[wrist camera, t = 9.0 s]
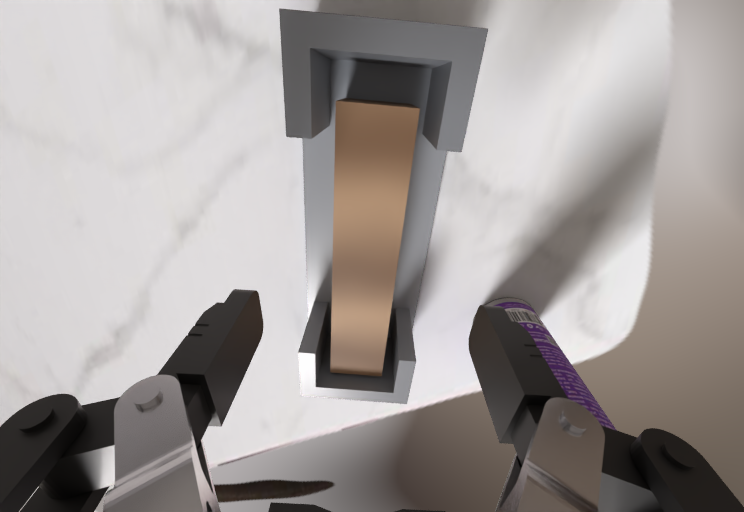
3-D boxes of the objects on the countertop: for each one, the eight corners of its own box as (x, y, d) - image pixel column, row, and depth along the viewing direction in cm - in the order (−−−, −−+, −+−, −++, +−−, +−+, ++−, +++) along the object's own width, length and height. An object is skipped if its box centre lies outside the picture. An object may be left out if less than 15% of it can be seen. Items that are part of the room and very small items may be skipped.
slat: (345, 97, 16) (335, 100, 12) (411, 103, 16) (419, 108, 12) (337, 329, 23) (330, 372, 20) (381, 333, 23) (381, 376, 20)
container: (460, 320, 23) (559, 616, 10) (512, 286, 22) (712, 587, 9) (494, 352, 25) (619, 644, 12) (546, 322, 23) (758, 624, 10)
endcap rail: (302, 33, 15) (264, 7, 10) (463, 48, 15) (503, 29, 10) (310, 335, 25) (292, 395, 20) (407, 342, 25) (414, 404, 20)
